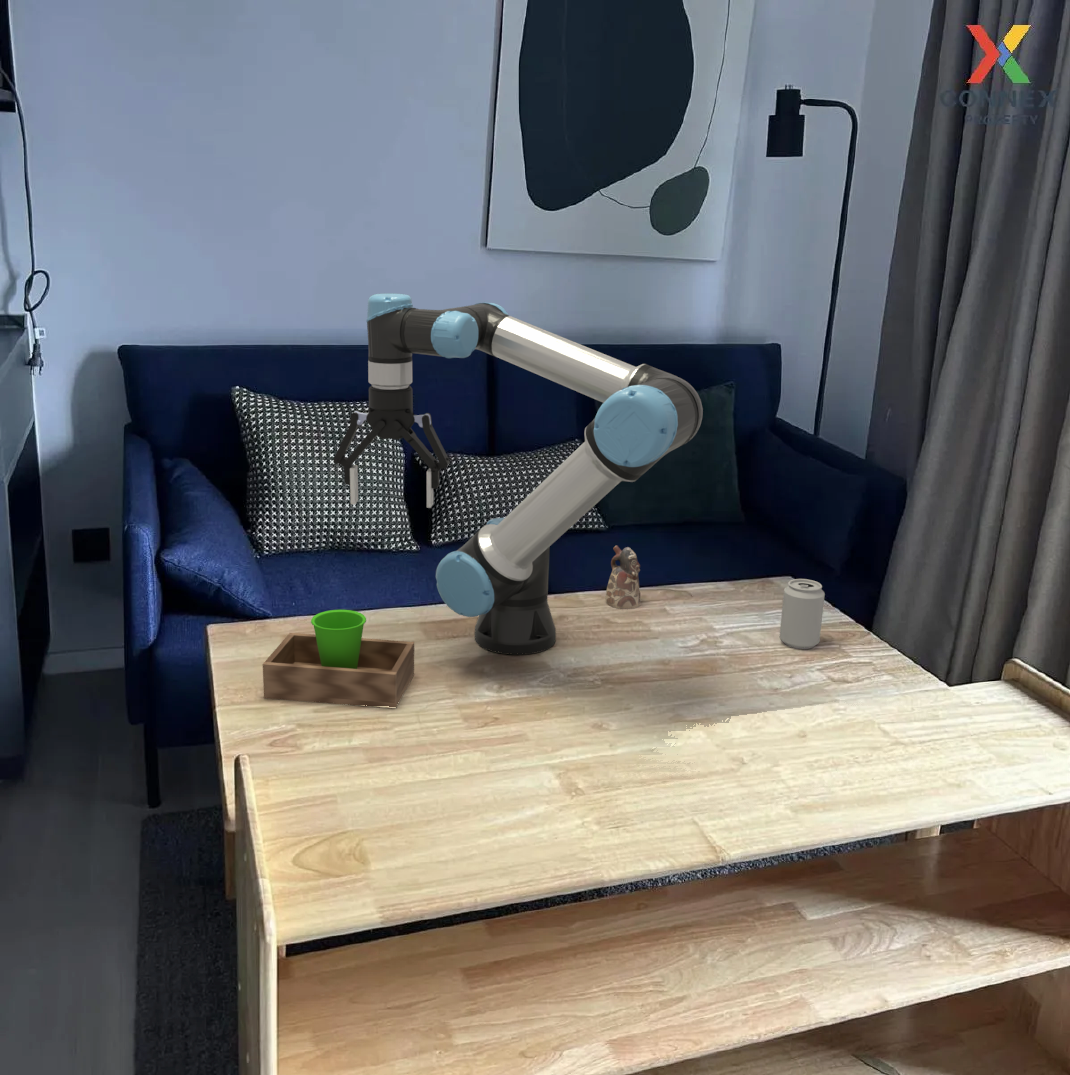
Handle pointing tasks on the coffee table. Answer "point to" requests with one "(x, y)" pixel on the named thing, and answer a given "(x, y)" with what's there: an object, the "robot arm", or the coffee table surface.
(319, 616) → the cup
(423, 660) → the coffee table surface
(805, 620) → the can
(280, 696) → the tray
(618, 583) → the figurine
